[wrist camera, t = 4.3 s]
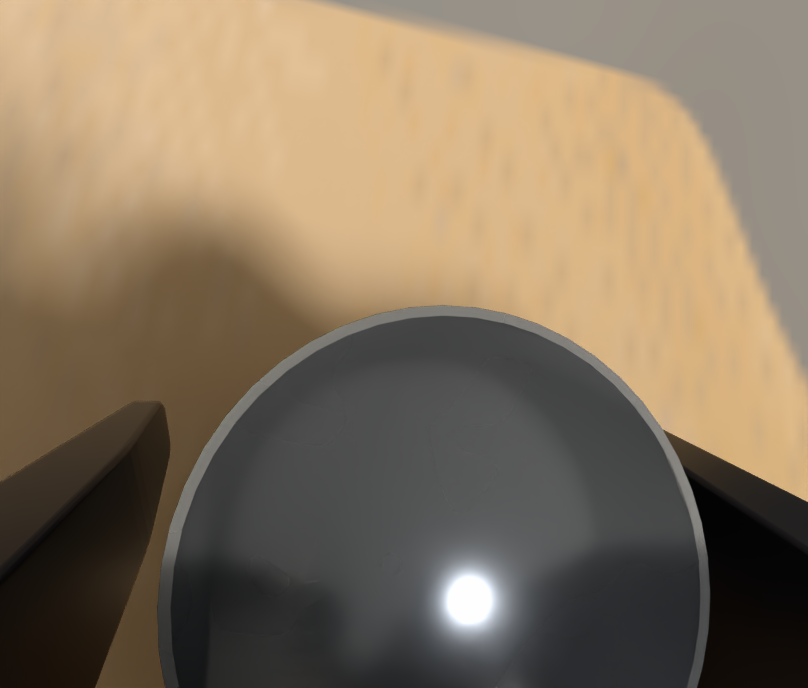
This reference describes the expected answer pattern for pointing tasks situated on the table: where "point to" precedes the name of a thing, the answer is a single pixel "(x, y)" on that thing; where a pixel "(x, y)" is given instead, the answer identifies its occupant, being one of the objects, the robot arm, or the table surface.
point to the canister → (436, 521)
